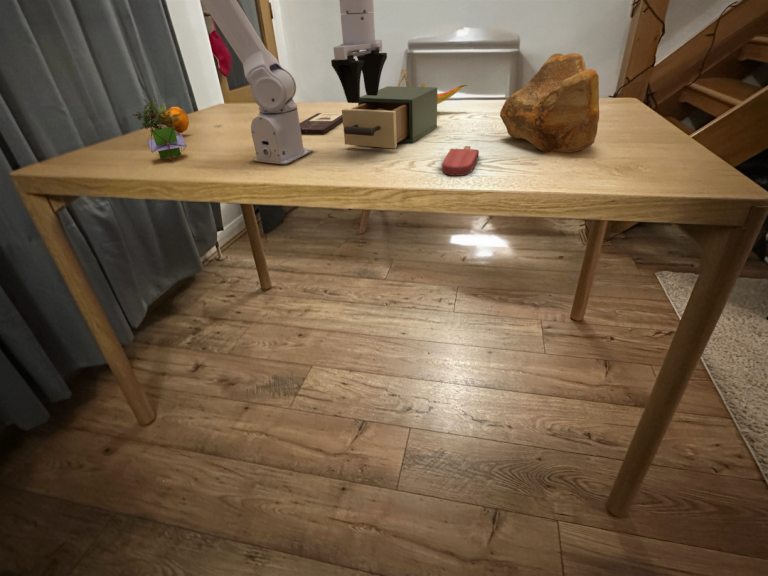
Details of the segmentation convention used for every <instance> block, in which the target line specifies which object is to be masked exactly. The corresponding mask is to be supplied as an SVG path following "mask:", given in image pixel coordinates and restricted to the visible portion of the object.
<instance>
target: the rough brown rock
mask: <svg viewBox="0 0 768 576" xmlns="http://www.w3.org/2000/svg"><path fill="white" fill-rule="evenodd" d="M599 87H600V78H599V74H598V72H597V70H595V69H593V68H587V67H586V63H585V58H584V57H583V56H582V55H581V54H579V53H575V52H571V53H570V52H569V53H567V54H563V53H553V54H552V55H550V56H549V57H548V58H547V59H546V61H545V62H544V63H543V65H541V67H540V68H539V70H537V72H536V73H535V74H534V75H533V76H532V78H531V79H530V80H529V81H528V82H527V84H526V85H525V86H524V87H522V88H521V89H519V90H516V91H514V93H512V94H510V96H509V97H508V98H507V99H506V100H505V101H504V104H503V105H502V107H501V109H500V112H499V117H500V119H501V120H502V123H503V124H504V126H505V128H506V131H507V135H509V136H510V137H512V138H514V139H521V140H522V139H524V140H526V141H527V142H529V143H530V144H532V145H533V146H534V147H535V148H537V149H539V150H540V151H543V152H545V153H551V152H553V151H558V152H559V153H572V152H577V151H582V150H585V149H587V148H589V147H591V146H592V145H593V144H594V143H595V140H596V136H597V133H598V128H599V121H600V88H599Z"/></svg>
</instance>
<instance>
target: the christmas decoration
mask: <svg viewBox="0 0 768 576" xmlns="http://www.w3.org/2000/svg"><path fill="white" fill-rule="evenodd" d="M144 102H145V105H144V106H143V111H142V113H141V112H139V111H137V112H136V113H135V114H134V113H132V114H131V116H135V117H137V120H139V121H141V120H143V122H141V124H142V125H141V126H142V127H141V128H140V130H142V129H145V130H148V129H150V131H149V132H150V133H151V130H156V129H161V126H160V125H162V126H166V127H169V126H170V127H174V128H175V129H174V130H175V131H177V132H178V133H180V134H182V133H184V132H187V130H188V128H189V125H190V121H189V119H190V118H189V116H188V114H187V113H186V111H185V110H184V109H182V108H181V107H179V106H171V107H169V108H168V109H167V104H166V102H164V103H163V105H161V106H157V107H155V105H156V104H157V101H155V97H153V98H152V100H151V101H149V102H148V101H147V100H146V99H144ZM216 125H217V126H220V123H217V124H216Z"/></svg>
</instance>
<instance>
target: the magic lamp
mask: <svg viewBox="0 0 768 576" xmlns="http://www.w3.org/2000/svg"><path fill="white" fill-rule="evenodd" d="M400 75H401V77H402V78H401V79H400V80H399V82H398V85H397V87H400V85H401V83H402V81H403V80H404V81H405V84H406V87H410V84H409V82H408V77H407V75H408V70H406V69H401V72H400ZM468 86H469V85H468V84H462V85H459V86H457V87H454V88H452V89H449V90H448V91H445V92H440V93H437V105H439V104H441V103H443V102H445V101H447V100H448V99H450V98H451V97H453V96H454V95H455V94H457V93H458V92H459V91H460V90H462V89H463V88H465V87H468ZM420 87H426V85H425V83H421V85H420Z"/></svg>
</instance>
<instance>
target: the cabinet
mask: <svg viewBox="0 0 768 576" xmlns="http://www.w3.org/2000/svg"><path fill="white" fill-rule="evenodd" d="M437 94H438V87H436V86H435V87H434V86H433V87H432V86H431V87H429V86H425V87H421V86H399V87H398V86H385V87H382V88H379V89H378V94H377V95H376V96H373V95H367V94H366V93H365V94H363V95H360V99H359V103H357V106H358V105H361V104H363V103H366V102H382V103H408V104H409V136H408V137H406V138H404V139H403V140H401V141H400V142H399V143H405V144H414V143H415V142H417V141H418V140H420V139H421V138H422V137H424V136H425V135H427V134H429V133H430V132H432V131H433V130H434V129H436V128H437V127H438V104H437Z"/></svg>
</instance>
